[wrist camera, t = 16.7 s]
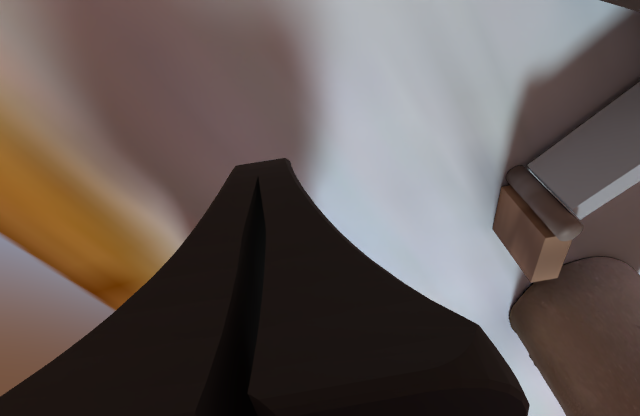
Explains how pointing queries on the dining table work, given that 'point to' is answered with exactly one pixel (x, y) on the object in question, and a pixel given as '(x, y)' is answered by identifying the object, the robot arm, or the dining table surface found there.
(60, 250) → the dining table surface
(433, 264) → the dining table surface
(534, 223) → the brown wooden bar
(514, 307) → the pillar candle
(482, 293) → the dining table surface
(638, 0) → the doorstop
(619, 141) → the door
